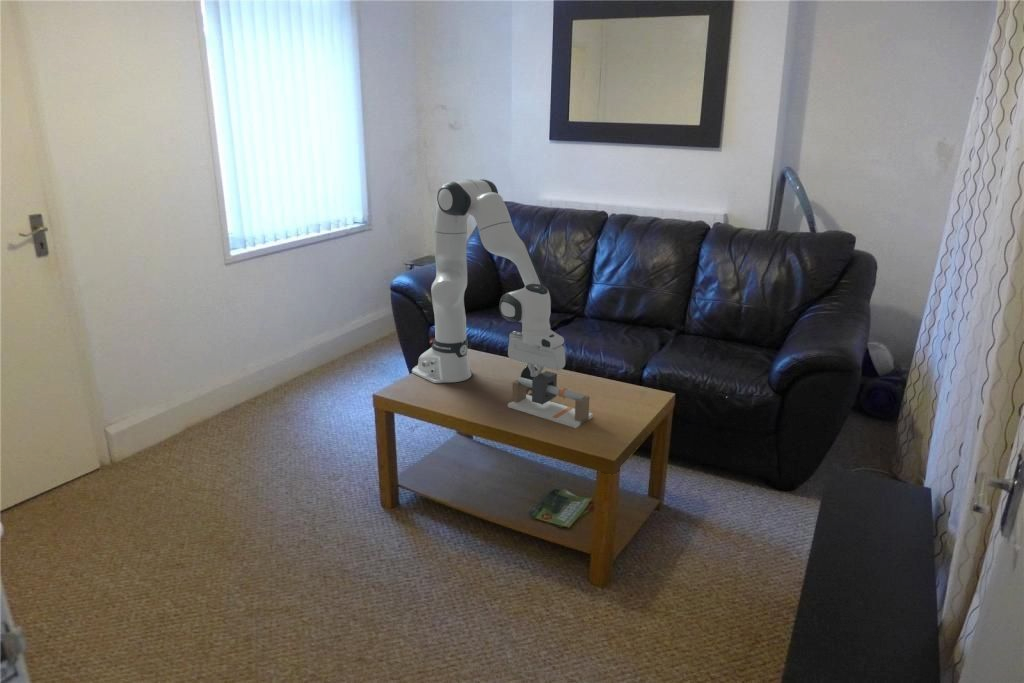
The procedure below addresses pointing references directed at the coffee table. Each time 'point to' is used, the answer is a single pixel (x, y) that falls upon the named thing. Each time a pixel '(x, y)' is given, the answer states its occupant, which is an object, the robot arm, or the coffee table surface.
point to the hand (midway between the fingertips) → (535, 376)
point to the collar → (543, 387)
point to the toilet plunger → (527, 375)
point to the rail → (551, 404)
